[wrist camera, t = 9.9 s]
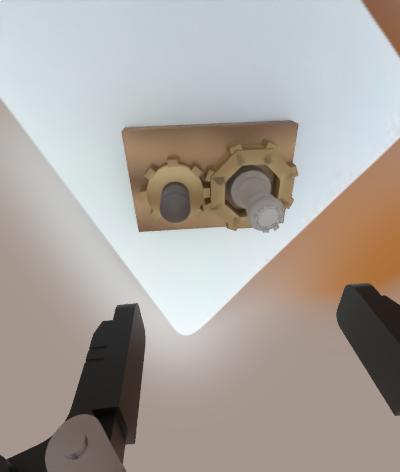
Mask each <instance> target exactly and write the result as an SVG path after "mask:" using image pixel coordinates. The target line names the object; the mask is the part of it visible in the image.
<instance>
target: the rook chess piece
mask: <svg viewBox="0 0 400 472" xmlns="http://www.w3.org/2000/svg"><path fill="white" fill-rule="evenodd" d="M270 191H271V184H270V179H269V178H268V176H267V174H266V173H265V172H264V170H262V169H261V168H259V167H257V166H246V167H243V168H240V169H239V170H237V171H236V172H235V173H234V174H233V175H232V177H231V178H230V180H229V184H228V192H229V196H230V197H231V199H232V200H233V201H234V203H235V204H236V205H238V206H240V207H242V208H244V209H246V212H247V219H248V223H249V224H250V225H251V226H252V228H255V229H257V230H262V231H263V232H269V229H272V228H273V229H274V231H275V230H276V229H278V228H279V226H278V224H279V223H280V222H282V223H283V220H284V213H285V210H284V205H283V204H282V202H281V201H280V200H279V199H277V198H275V197H274V196H273V195H271V194H270Z"/></svg>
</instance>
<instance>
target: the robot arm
mask: <svg viewBox="0 0 400 472" xmlns="http://www.w3.org/2000/svg"><path fill="white" fill-rule="evenodd" d="M337 321H338V324H339V326H340V328H341V330H342V331H343V333H344V335H345V336H346V338H347V340H348V341H349V343H350V344H351V346H352V347H353V349H354V351H355V352H356V354H357V356H358V357H359V359H360V360H361V362H362V364H363V365H364V367H365V368H366V370H367V371H368V373H369V375H370V376H371V378H372V380H373V381H374V383H375V384H376V386H377V388H378V389H379V391H380V393H381V394H382V396H383V397H384V399H385V400H386V402H387V404H388V405H389V407H390V409H391V410H392V412H393V413H394V415H395V416H397V415H400V305H399V304H397V303H396V302H394V301H393V300H391V299H390V298H388V297H387V296H381V295H380V294H379V292H378V291H377V290H376V289H375V288H374V287H373V286H372V285H371V284H369V283H362V284H352V285H347V286H346V287H345V288H344V291H343V294H342V297H341V300H340V303H339V306H338V309H337ZM89 348H90V350H89V351H88V354H87V357H86V363H85V364H84V368H83V371H82V374H81V378H80V381H79V384H78V388H77V391H76V394H75V397H74V401H73V404H72V407H71V410H70V413H69V415H68V417H67V419H66V420H65V422H64V423H63V424H62V425H61V426H60V427H59V428H58V429H57V430H56V432H55V433H54V434H53V435H52V436H51V437H50V438H49V439H47V440H46V441H44V442H42V443H41V444H39V445H37V446H34V447H32V448H30V449H28V450H26V451H24V452H22V453H19V454H17V455H15V456H13V457H11V458H9V459H5V458H4V457H2V456H1V455H0V472H126V470H125V468H124V466H123V458H124V450H125V445H126V444H135V438H136V428H137V418H138V409H139V400H140V390H141V380H142V371H143V362H144V352H145V329H144V325H143V321H142V317H141V313H140V309H139V305H138V303H136V304H124V305H118V306H117V307H116V309H115V314H114V318H113V320H110V321H103V322H102V323H101V324H100V326H99V327H98V328H97V330H96V331H95V333H94V334H93V337H92V341H91V344H90V347H89Z"/></svg>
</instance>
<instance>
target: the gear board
mask: <svg viewBox="0 0 400 472" xmlns="http://www.w3.org/2000/svg"><path fill="white" fill-rule="evenodd" d="M297 130H298V123H296V122H293V121H268V122H245V123H222V124H199V125H176V126H153V127H130V128H124V129H123V131H122V137H123V142H124V148H125V154H126V160H127V166H128V171H129V177H130V183H131V189H132V195H133V200H134V206H135V212H136V218H137V224H138V229H139V232H144V231H161V230H177V229H193V228H209V227H225V226H227V228H228V229H231V230H235V231H236V230H237V229H238V228H252V226H251V225H250V224H249V223H248V219H247V212H246V209H244V208H242V207H240V206H238V205H236V204H235V203H234V201H233V200H232V199H231V197H230V196H229V192H228V184H229V180H230V178H231V177H232V175H233V174H234V173H235V172H236V171H237V170H239V169H240V168H243V167H246V166H257V167H259V168H261V169H262V170H264V172H265V173H266V174H267V176H268V178H269V179H270V184H271V191H270V194H271V195H273V196H274V197H275V198H277V199H279V200H280V201H281V202H282V204H283V205H284V210H285V209H286V208H287V209H289V208H290V206H291V205H292V203H293V201H294V199H293V198H292V197H291V196H292V190H293V184H294V178H295V177H296V176H298V172H297V168H296V165H294V164H293V163H292V162H293V156H294V149H295V143H296V136H297ZM284 215H285V213H284ZM283 221H284V220H283ZM280 223H282V222H280Z"/></svg>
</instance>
